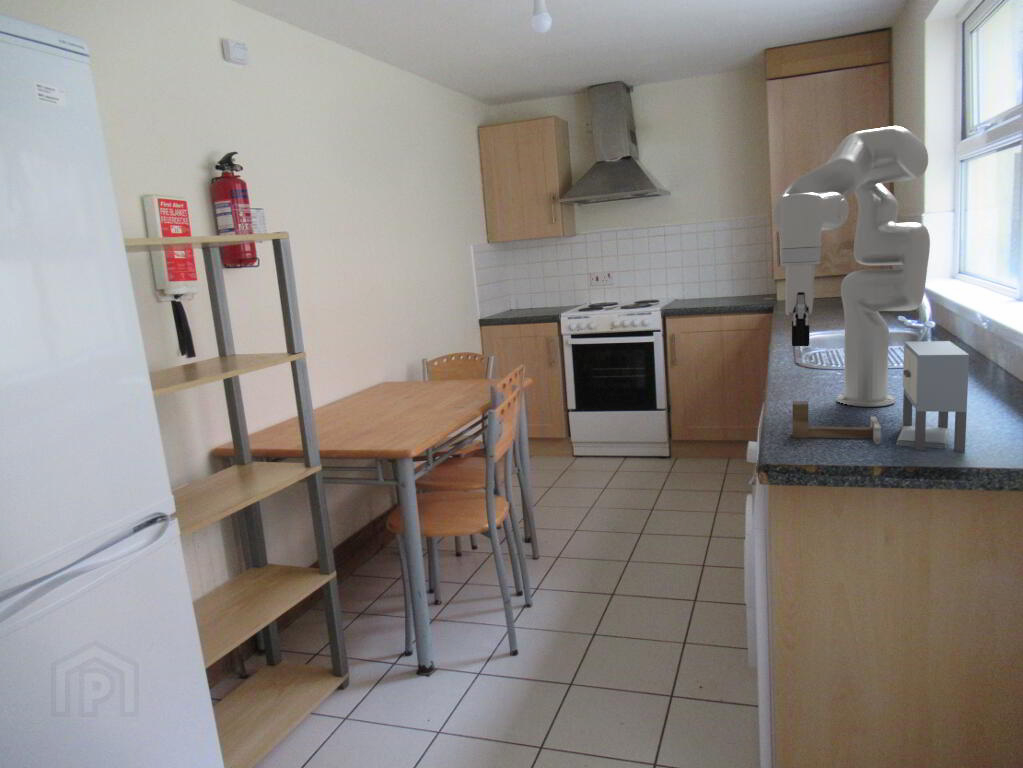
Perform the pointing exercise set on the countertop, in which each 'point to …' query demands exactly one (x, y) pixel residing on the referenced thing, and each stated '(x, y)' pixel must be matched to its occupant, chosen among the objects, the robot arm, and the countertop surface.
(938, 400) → the cabinet
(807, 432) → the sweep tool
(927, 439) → the hard drive
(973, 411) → the countertop surface
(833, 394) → the countertop surface
